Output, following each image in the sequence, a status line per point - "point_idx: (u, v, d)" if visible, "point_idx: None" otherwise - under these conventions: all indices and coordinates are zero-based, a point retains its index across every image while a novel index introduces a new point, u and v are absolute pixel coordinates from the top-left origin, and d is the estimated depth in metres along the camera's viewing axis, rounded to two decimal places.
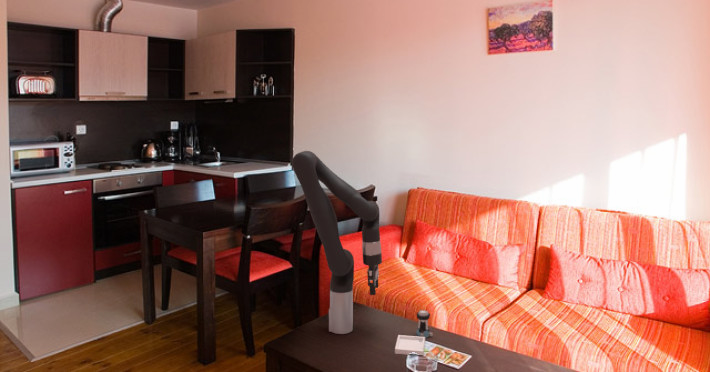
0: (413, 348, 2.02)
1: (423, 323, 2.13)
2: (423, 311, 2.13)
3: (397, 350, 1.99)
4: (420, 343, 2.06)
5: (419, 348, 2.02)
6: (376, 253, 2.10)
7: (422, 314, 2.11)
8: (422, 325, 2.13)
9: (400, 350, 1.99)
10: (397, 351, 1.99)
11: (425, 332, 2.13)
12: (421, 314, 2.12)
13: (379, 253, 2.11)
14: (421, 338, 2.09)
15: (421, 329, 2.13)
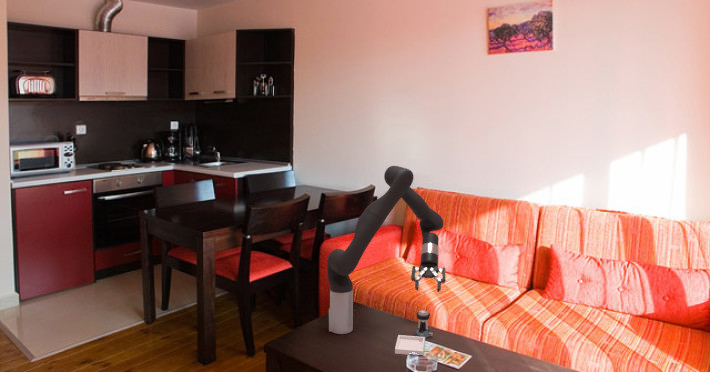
0: (413, 348, 2.02)
1: (423, 323, 2.13)
2: (423, 311, 2.13)
3: (397, 350, 1.99)
4: (420, 343, 2.06)
5: (419, 348, 2.02)
6: None
7: (422, 314, 2.11)
8: (422, 325, 2.13)
9: (400, 350, 1.99)
10: (397, 351, 1.99)
11: (425, 332, 2.13)
12: (421, 314, 2.12)
13: None
14: (421, 338, 2.09)
15: (421, 329, 2.13)
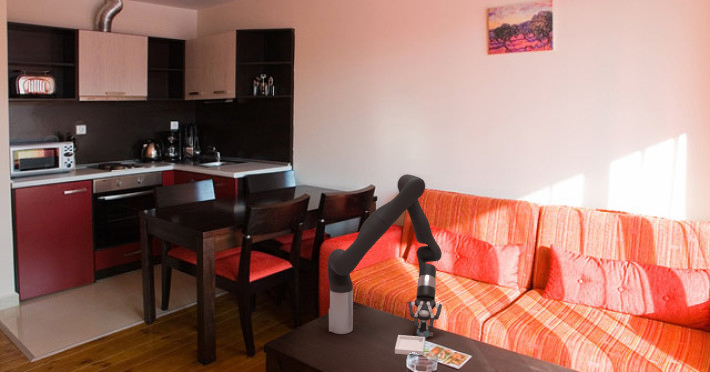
0: (413, 348, 2.02)
1: (424, 323, 2.12)
2: (424, 311, 2.13)
3: (397, 350, 1.99)
4: (420, 343, 2.06)
5: (419, 348, 2.02)
6: None
7: (423, 314, 2.11)
8: (422, 325, 2.13)
9: (400, 350, 1.99)
10: (397, 351, 1.99)
11: (425, 332, 2.13)
12: (422, 314, 2.11)
13: None
14: (421, 338, 2.09)
15: (421, 329, 2.12)
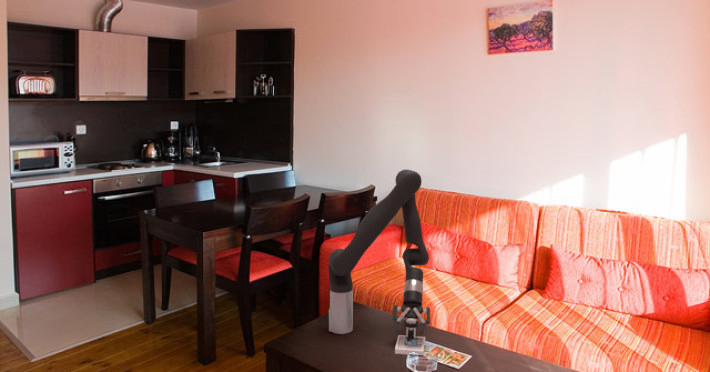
0: (413, 348, 2.02)
1: (411, 331, 2.03)
2: (411, 318, 2.04)
3: (397, 350, 1.99)
4: (420, 343, 2.06)
5: (419, 348, 2.02)
6: None
7: (410, 321, 2.02)
8: (410, 333, 2.04)
9: (400, 350, 1.99)
10: (397, 351, 1.99)
11: (413, 341, 2.04)
12: (409, 321, 2.02)
13: None
14: (421, 338, 2.09)
15: (409, 337, 2.03)
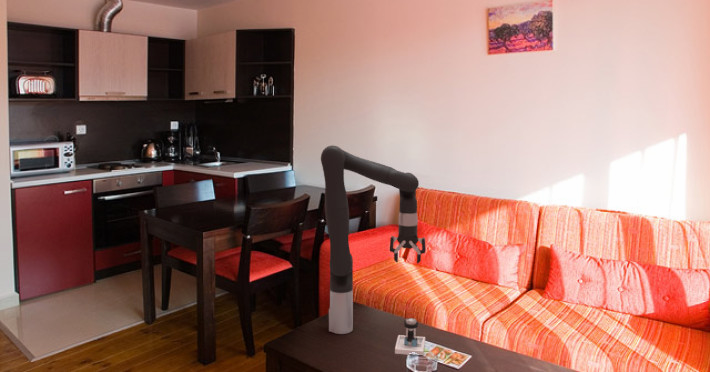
0: (413, 348, 2.02)
1: (411, 332, 2.03)
2: (411, 319, 2.04)
3: (397, 350, 1.99)
4: (420, 343, 2.06)
5: (419, 348, 2.02)
6: None
7: (410, 322, 2.02)
8: (410, 334, 2.03)
9: (400, 350, 1.99)
10: (397, 351, 1.99)
11: (413, 341, 2.03)
12: (409, 322, 2.02)
13: None
14: (421, 338, 2.09)
15: (409, 338, 2.03)
